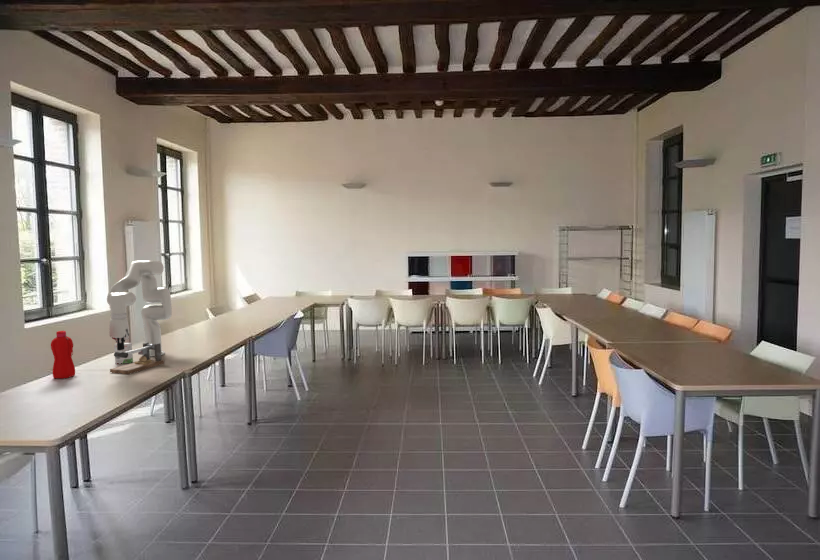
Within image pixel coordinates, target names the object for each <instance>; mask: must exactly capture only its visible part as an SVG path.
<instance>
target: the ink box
mask: <svg viewBox="0 0 820 560" xmlns="http://www.w3.org/2000/svg"><path fill="white" fill-rule="evenodd" d="M113 348H114V349H113V351H114V353H115V352H126V351H130V350H133V343H132V342H124V349H123V350H117V343H114V344H113ZM133 354H134V353H133ZM133 354H130V355H128V357H127V358H120V357H115V356H114V363H115V365H124V364H123V363H129V364H130V363H131V362H132V363H134V355H133ZM117 363H119V364H117ZM121 363H122V364H121Z"/></svg>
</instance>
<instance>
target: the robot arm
mask: <svg viewBox="0 0 820 560" xmlns="http://www.w3.org/2000/svg"><path fill="white" fill-rule="evenodd" d="M164 268H165V267H164V264H163V263H162V262H161V260H134V261H132V262H130V264H129V265H128V267H127V270H126V272H125V275H124V276H123V278H121V279H120V280H119V281H117V282H115V283H114V284H113V285H111V287H110V289H109V291H108V293H107V297H106V302H107V304H108V305H109V306H110V320H109V328H108V329H109V330H108V331H109V332H108V333H109V334H108V335H109V337H110V338H111V339H113V340H114V342H115V344H117V350H123V349H124V343H126V340H129V337H130V325H129V321H128V317H127V307H129V306H133V305H135V302H136V299H137V297H136V295H135V293H133V292H130V291H128V290H131V289H133V288H136V287H137V286H139V285H140V282H141V289H142V290H141V291H142V300H143V302H144V303H147V305H144V306H143V307H142V308H141V309H140V310H141V311H140V313H141V314H140V315H141V318H142V321H143V333H144V343H149V344H157V343H160V345H161V356H163V355H165V354H166V353H165V352H166V351H164V350H163V348H162V346H163V345H162V331H161V325H160V323H159V322H158V321H161V320H166V321H167V320H169V319H171V317H172V312H173V311H172V299H171V292H170V290H169V288H168V287H164V286H163V287H158V283H157V278H156V276H160V275H162V274H163V272H164ZM126 291H127V292H126ZM149 303H150V304H149ZM151 303H152V304H151ZM155 303H156V304H155ZM158 303H161V304H158ZM149 353H150V357H155V350H150V349H149Z"/></svg>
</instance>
